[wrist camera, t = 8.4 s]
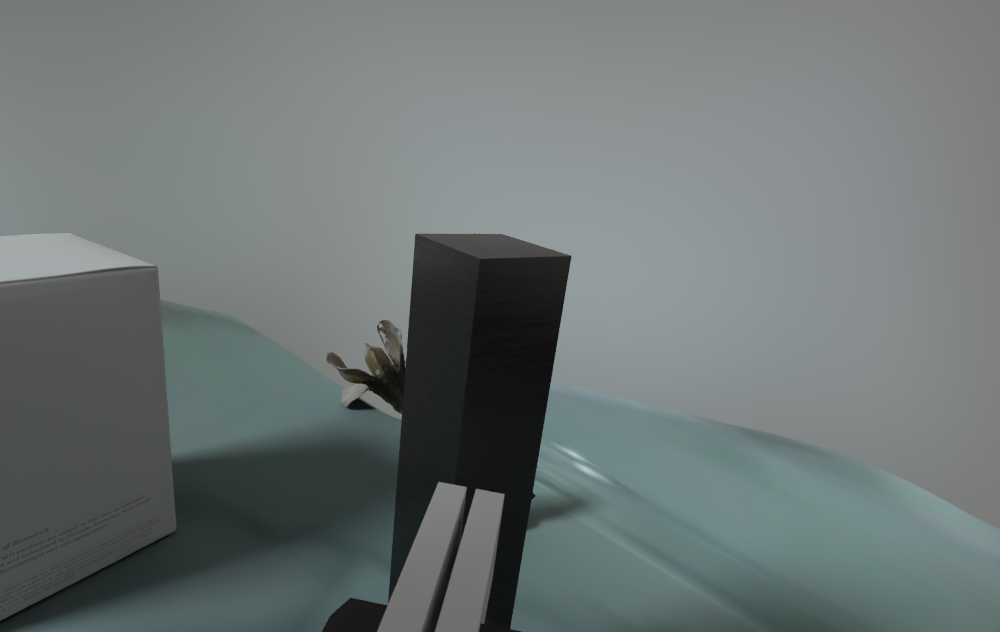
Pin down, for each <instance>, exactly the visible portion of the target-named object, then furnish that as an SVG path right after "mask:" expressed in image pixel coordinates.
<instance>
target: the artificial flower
mask: <svg viewBox="0 0 1000 632" xmlns="http://www.w3.org/2000/svg"><path fill="white" fill-rule="evenodd" d="M379 323H382V325H383V327H381V328H379ZM379 323H378V325H377V329H378V332H379V331H380V330H381V331H382V332H383V333H385V334H386V335H385V340H386V342H384V340H383V338H382V336H381V335H380V337H381V339H382V341H383V343H384V346H385V349H386V352H387V354H388V355H389V357H390V359H389V358H388V356H387V355H386V354H385V353H384V351H383V350H382V349H381V348H377V347H372V346H369V345H368V344H367V343H365V345H366V353H365V361H366V364H367V366H368V368H369V369H370V373H369V374H368V373H366V372H364V371H362V370H360V369H347V367H346V366H345V365H344V363H343V361H342V360H341V358H340V357H338V356H337V355H336V354H334V353H327V354H326V356H325V358H326V361H327V362H328V363H329V364H330V365H332V366H333V367H335V368H337V370H338V371H339V373H340V374H341V376H343V378H344V379H345V380H347V381H349V382H352V383H354V384H353V385H351V386H349V387H347V388H344V389H342V391H341V394H342V400H341V401H342V404H343V405H344V406H345V407H347V406H349V405H350V404H351V403H352V402H353V401H355V400H357V399H358V398H359V397H360V396H361V395H362V394H363V393H364V392H365V391H367V390H368V389H369V391H373V392H374V393H375V394H377V395H379V396H380V397H382V398H383V399H384V400H385V401H386V402H388V403H390V404H391V405H392V406H393V408H394V410H395V411H398V412H399V413H401V414H402V410H403V397H404V383H405V370H406V369H405V363H406V356H407V349H406V351H405V352H403V348H402V345H401V339H402V334H401V330H400V329H398V328H396V327H394V325H393V324H392V323H391V322H390V321H388V320H382V321H380V322H379ZM379 334H380V332H379ZM534 497H535V495H534V494H533V492H532V498H531V500H532V499H533V498H534Z"/></svg>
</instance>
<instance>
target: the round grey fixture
mask: <svg viewBox="0 0 1000 632" xmlns="http://www.w3.org/2000/svg"><path fill="white" fill-rule="evenodd" d="M570 261H571V256H570V255H566V254H563V253H560V252H557V251H554V250H551V249H547V248H544V247H541V246H538V245H535V244H532V243H528V242H525V241H522V240H519V239H516V238H512V237H509V236H505V235H502V234H416V235H415V249H414V262H413V276H412V289H411V303H410V316H409V329H408V343H407V356H406V370H405V383H404V397H403V410H402V424H401V437H400V451H399V464H398V478H397V491H396V505H395V518H394V532H393V545H392V559H391V572H390V586H389V599H388V604H389V601H390V599H391V596H392V594H393V592H394V589H395V587H396V584H397V582H398V579H399V577H400V575H401V572H402V570H403V567H404V565H405V562H406V560H407V557H408V555H409V553H410V550H411V548H412V545H413V543H414V540H415V538H416V536H417V533H418V531H419V528H420V526H421V523H422V521H423V519H424V516H425V514H426V511H427V509H428V506H429V504H430V502H431V499H432V497H433V494H434V492H435V489H436V487H437V484H438V482H442V483H447V484H453V485H458V486H464V487H467V490H466V499H465V507H464V515H463V524H462V532H461V539H462V536H463V532H464V529H465V525H466V522H467V519H468V515H469V512H470V508H471V505H472V501H473V498H474V494H475V491H476V489H480V490H485V491H491V492H496V493H502V494H505V496H504V502H503V509H502V516H501V523H500V530H499V537H498V544H497V550H496V557H495V564H494V571H493V578H492V583H491V589H490V594H489V599H488V605H487V610H486V616H485V621H484V624H487V625H491V626H496V627H501V628H506V629H510V626H511V620H512V614H513V608H514V602H515V596H516V589H517V583H518V577H519V571H520V565H521V559H522V553H523V547H524V541H525V535H526V529H527V523H528V517H529V510H530V504H531V498H532V492H533V486H534V480H535V474H536V468H537V462H538V456H539V450H540V444H541V437H542V431H543V425H544V419H545V413H546V407H547V401H548V395H549V389H550V383H551V377H552V371H553V363H554V358H555V352H556V346H557V340H558V334H559V328H560V322H561V316H562V310H563V304H564V298H565V292H566V285H567V279H568V273H569V267H570ZM460 543H461V540H460Z"/></svg>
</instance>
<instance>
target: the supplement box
mask: <svg viewBox="0 0 1000 632" xmlns="http://www.w3.org/2000/svg"><path fill="white" fill-rule="evenodd" d="M176 529H177V526H176V514H175V501H174V487H173V475H172V459H171V446H170V431H169V417H168V403H167V389H166V377H165V360H164V346H163V332H162V317H161V305H160V291H159V279H158V267H157V266H155V265H153V264H149V263H147V262H144V261H141V260H139V259H136V258H133V257H130V256H128V255H125V254H123V253H120V252H117V251H115V250H112V249H109V248H106V247H103V246H101V245H98V244H96V243H93V242H90V241H88V240H85V239H83V238H80V237H77V236H75V235H73V234H71V233H62V234H29V235H13V236H0V621H1V620H3V619H5V618H7V617H9V616H11V615H13V614H15V613H17V612H19V611H21V610H22V609H24V608H26V607H28V606H30V605H32V604H34V603H36V602H38V601H40V600H42V599H44V598H46V597H48V596H50V595H52V594H54V593H56V592H57V591H59V590H61V589H63V588H65V587H67V586H69V585H71V584H73V583H75V582H77V581H79V580H81V579H83V578H85V577H87V576H89V575H91V574H93V573H94V572H96V571H98V570H100V569H102V568H104V567H106V566H108V565H110V564H112V563H114V562H116V561H118V560H120V559H122V558H124V557H125V556H127V555H129V554H131V553H133V552H135V551H137V550H139V549H141V548H143V547H145V546H147V545H149V544H151V543H153V542H155V541H157V540H158V539H160V538H162V537H164V536H166V535H169V534H171V533H173V532H174V531H176Z"/></svg>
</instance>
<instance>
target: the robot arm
mask: <svg viewBox="0 0 1000 632" xmlns="http://www.w3.org/2000/svg"><path fill="white" fill-rule="evenodd" d="M466 490H467V487H464V486H458V485H453V484H447V483H442V482H438V484H437V487H436V489H435V492H434V494H433V497H432V499H431V502H430V504H429V506H428V509H427V511H426V514H425V516H424V519H423V521H422V523H421V526H420V528H419V531H418V533H417V536H416V538H415V540H414V543H413V545H412V548H411V550H410V553H409V555H408V557H407V560H406V562H405V565H404V567H403V570H402V572H401V575H400V577H399V579H398V582H397V584H396V587H395V589H394V592H393V594H392V596H391V599H390V601H389V604H388V606H387V605H382V604H378V603H373V602H368V601H363V600H358V599H353V598H350V599H349V600H347V601H346V602H345V603H344V604H343V605H342V606H341V607H340V608H339V609H338V610H336V611H335V612H334V613H333V614H332V615H331V616H330V618H329V619H328V621H327V623H326V625H325V627H324V629H323V631H322V632H520V631H515V630H511V629H506V628H501V627H496V626H491V625H487V624H484V621H485V616H486V610H487V605H488V599H489V594H490V589H491V583H492V578H493V571H494V564H495V557H496V550H497V544H498V537H499V530H500V523H501V516H502V509H503V502H504V496H505V494H502V493H496V492H491V491H485V490H480V489H476V491H475V494H474V498H473V501H472V505H471V508H470V512H469V515H468V519H467V522H466V525H465V529H464V532H463V536H462V539H461V532H462V524H463V515H464V507H465V499H466ZM460 540H461V543H460Z"/></svg>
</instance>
